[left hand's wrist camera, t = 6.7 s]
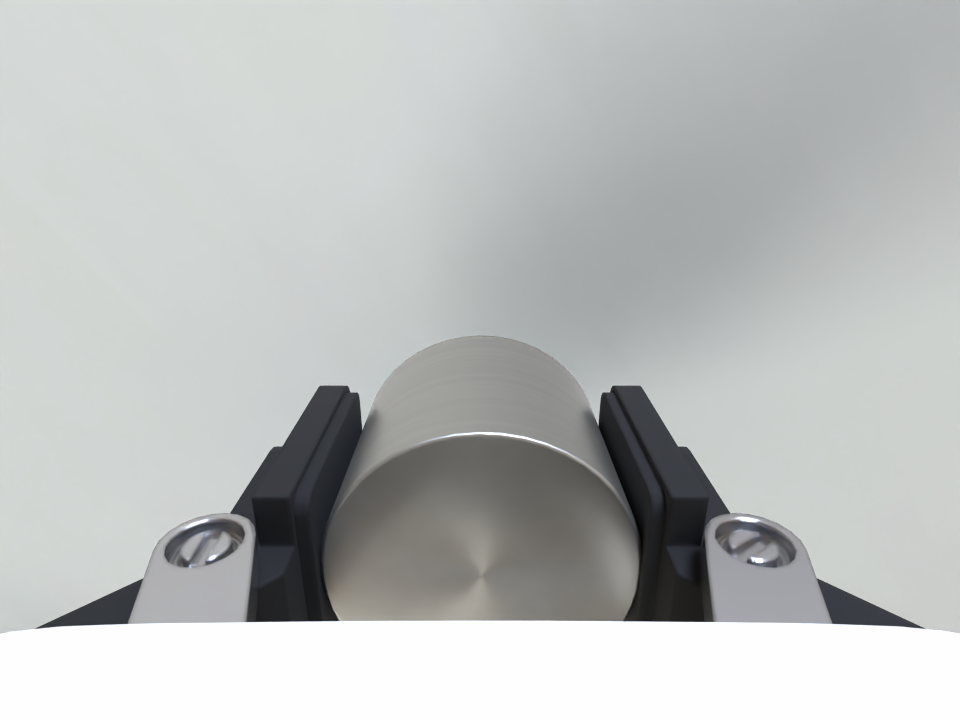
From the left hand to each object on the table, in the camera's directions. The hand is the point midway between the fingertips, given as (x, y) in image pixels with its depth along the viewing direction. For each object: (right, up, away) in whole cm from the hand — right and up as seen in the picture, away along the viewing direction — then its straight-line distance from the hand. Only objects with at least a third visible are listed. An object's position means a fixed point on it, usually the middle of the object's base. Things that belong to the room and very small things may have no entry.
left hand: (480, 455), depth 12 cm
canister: (0, 0, 0) cm, 0 cm away
